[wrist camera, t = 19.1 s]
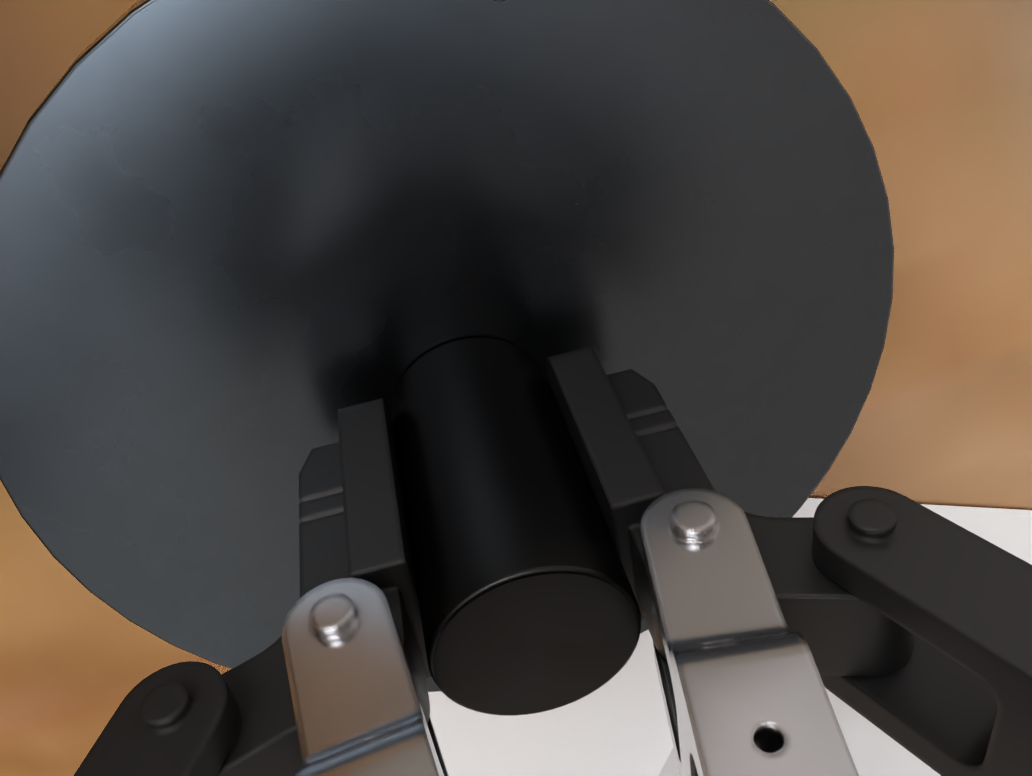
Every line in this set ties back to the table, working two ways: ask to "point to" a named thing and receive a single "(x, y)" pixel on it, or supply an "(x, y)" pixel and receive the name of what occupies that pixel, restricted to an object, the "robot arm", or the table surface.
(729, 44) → the lid
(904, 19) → the table surface
